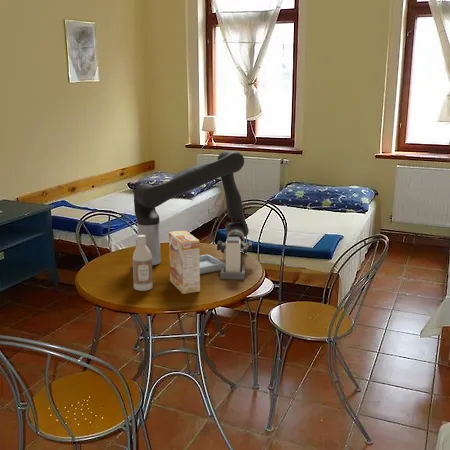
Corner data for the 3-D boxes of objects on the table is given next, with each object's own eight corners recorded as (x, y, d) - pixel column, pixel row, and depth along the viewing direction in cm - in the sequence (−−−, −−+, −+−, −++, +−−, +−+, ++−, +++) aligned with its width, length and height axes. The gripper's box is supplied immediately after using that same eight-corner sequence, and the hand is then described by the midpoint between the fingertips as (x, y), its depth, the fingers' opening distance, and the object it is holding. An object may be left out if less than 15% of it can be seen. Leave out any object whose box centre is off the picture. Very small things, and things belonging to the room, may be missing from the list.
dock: (244, 279, 211) (244, 273, 210) (220, 279, 212) (220, 272, 211) (244, 272, 219) (244, 266, 219) (222, 271, 220) (222, 265, 219)
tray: (194, 275, 215) (194, 268, 215) (178, 265, 227) (178, 259, 226) (225, 269, 223) (225, 263, 222) (208, 260, 234) (208, 254, 233)
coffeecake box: (169, 280, 209) (168, 231, 204) (186, 278, 212) (186, 229, 207) (182, 294, 196) (181, 242, 191) (200, 291, 199) (200, 240, 194)
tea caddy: (239, 277, 213) (240, 240, 209) (225, 277, 213) (225, 240, 209) (240, 272, 219) (240, 236, 215) (226, 272, 219) (226, 236, 215)
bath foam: (134, 292, 198) (132, 238, 193) (133, 285, 204) (131, 233, 199) (153, 290, 199) (152, 237, 194) (151, 284, 206) (150, 232, 201)
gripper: (218, 231, 233) (216, 241, 218) (252, 231, 232) (251, 242, 217) (218, 247, 235) (216, 259, 219) (251, 248, 234) (251, 260, 219)
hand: (233, 251), depth 218 cm, fingers open, 8 cm apart
